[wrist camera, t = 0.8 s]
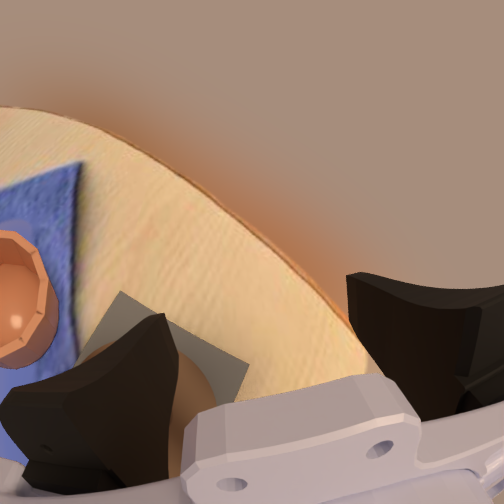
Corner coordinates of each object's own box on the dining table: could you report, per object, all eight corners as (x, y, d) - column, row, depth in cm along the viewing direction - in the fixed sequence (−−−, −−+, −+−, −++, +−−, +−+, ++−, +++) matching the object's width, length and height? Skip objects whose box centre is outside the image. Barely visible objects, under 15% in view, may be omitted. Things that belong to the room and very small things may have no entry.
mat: (176, 521, 16) (177, 523, 16) (32, 447, 15) (30, 448, 14) (247, 365, 25) (249, 364, 25) (120, 292, 24) (120, 290, 23)
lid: (180, 502, 17) (197, 522, 13) (46, 431, 16) (28, 437, 12) (235, 383, 23) (261, 376, 20) (112, 314, 22) (112, 291, 18)
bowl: (23, 392, 17) (1, 387, 13) (-50, 322, 15) (-77, 301, 11) (79, 300, 22) (72, 275, 18) (6, 242, 21) (-9, 209, 17)
